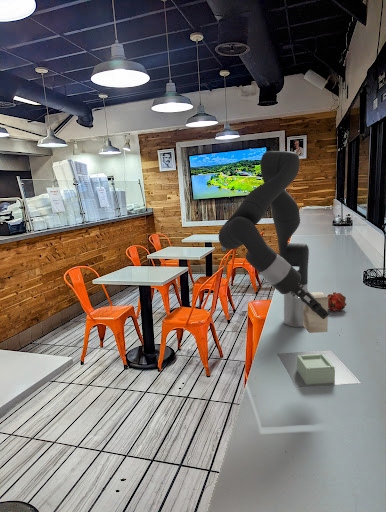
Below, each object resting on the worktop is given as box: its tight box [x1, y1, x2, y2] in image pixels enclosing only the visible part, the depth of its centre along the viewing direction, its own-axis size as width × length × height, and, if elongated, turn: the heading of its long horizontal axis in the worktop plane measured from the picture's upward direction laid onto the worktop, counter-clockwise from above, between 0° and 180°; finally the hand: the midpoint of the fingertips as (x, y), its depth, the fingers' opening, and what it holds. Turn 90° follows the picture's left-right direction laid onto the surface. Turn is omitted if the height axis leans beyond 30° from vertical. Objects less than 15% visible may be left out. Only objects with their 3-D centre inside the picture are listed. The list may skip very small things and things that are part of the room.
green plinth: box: [297, 354, 335, 385], centre depth 99 cm, size 8×8×5 cm
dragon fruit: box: [326, 291, 348, 312], centre depth 152 cm, size 8×8×12 cm
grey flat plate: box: [277, 349, 362, 388], centre depth 104 cm, size 20×18×1 cm
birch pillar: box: [303, 291, 329, 334], centre depth 95 cm, size 5×5×10 cm
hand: (321, 312), depth 95 cm, fingers closed on birch pillar, 5 cm apart
